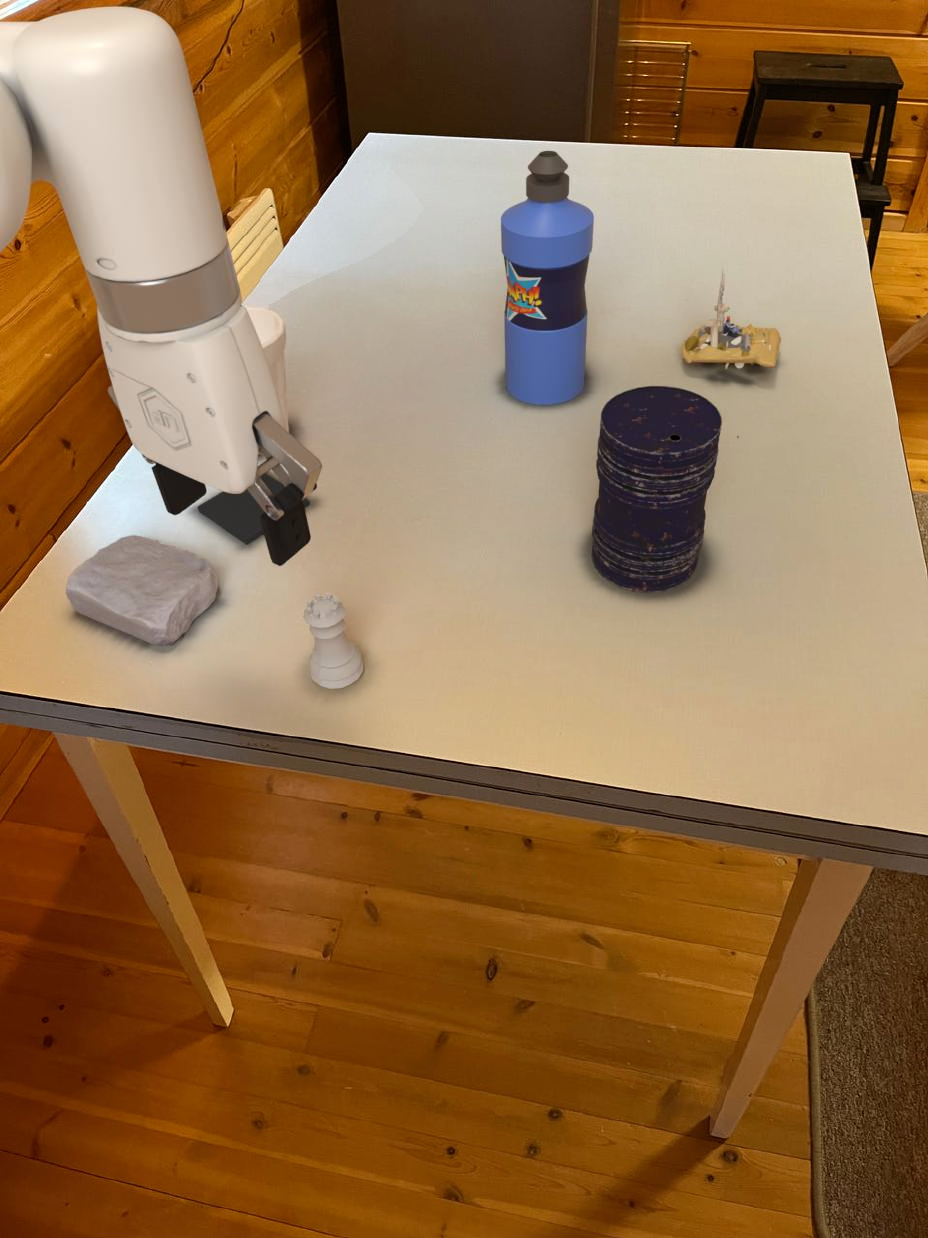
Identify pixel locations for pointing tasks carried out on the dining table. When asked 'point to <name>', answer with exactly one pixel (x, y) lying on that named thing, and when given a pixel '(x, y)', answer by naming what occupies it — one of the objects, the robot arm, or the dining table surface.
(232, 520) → the mat
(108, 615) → the stone block
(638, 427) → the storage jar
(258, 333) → the cup
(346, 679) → the rook chess piece
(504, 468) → the dining table surface
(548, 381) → the water bottle
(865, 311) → the dining table surface
